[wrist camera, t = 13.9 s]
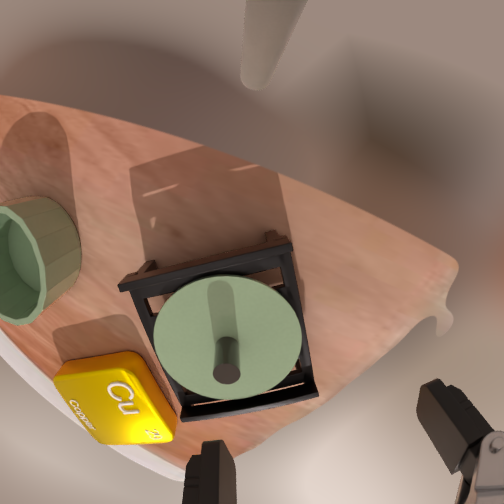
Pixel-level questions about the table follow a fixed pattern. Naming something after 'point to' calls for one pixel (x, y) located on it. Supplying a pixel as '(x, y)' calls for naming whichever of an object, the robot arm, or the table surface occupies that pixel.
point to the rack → (232, 263)
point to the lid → (227, 337)
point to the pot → (35, 257)
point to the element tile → (117, 399)
